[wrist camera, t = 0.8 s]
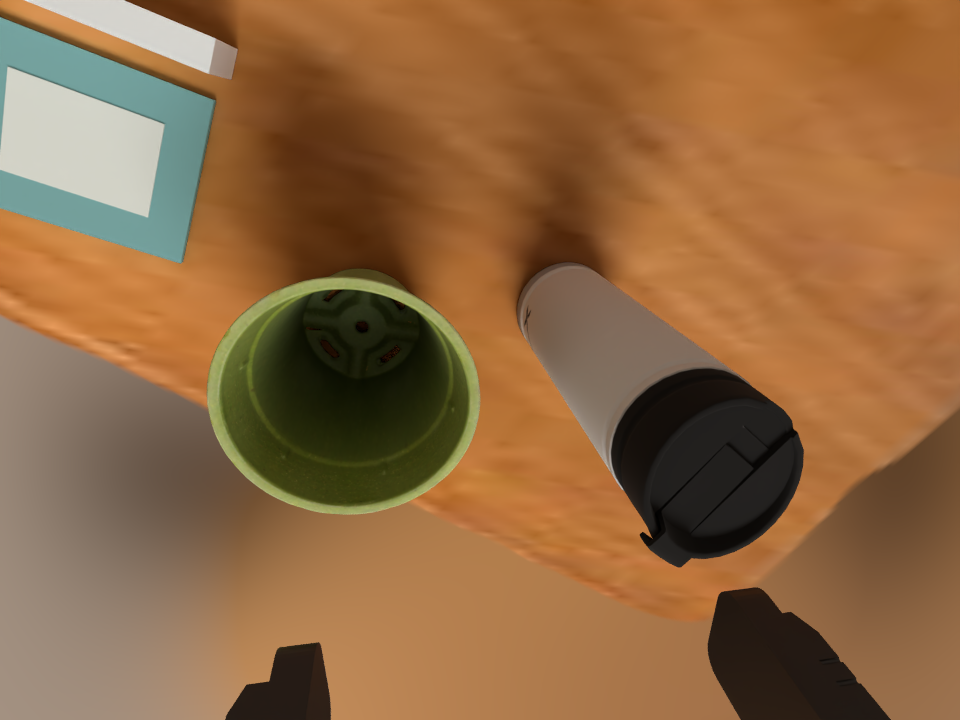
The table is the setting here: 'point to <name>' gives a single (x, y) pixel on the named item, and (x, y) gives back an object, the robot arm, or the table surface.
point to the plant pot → (343, 394)
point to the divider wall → (150, 32)
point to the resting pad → (98, 144)
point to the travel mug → (663, 416)
